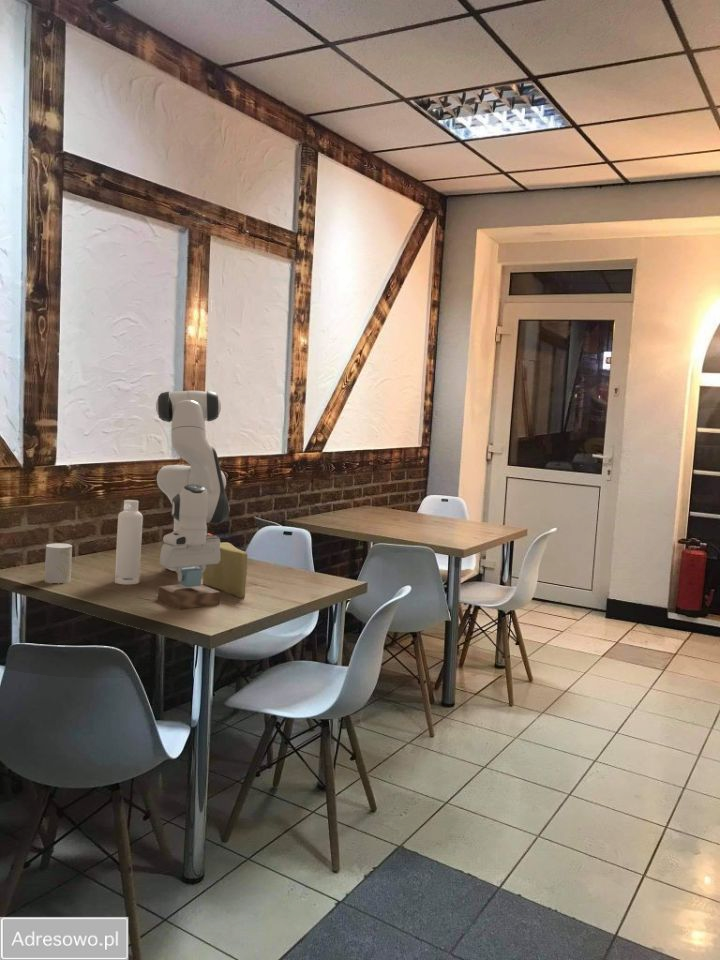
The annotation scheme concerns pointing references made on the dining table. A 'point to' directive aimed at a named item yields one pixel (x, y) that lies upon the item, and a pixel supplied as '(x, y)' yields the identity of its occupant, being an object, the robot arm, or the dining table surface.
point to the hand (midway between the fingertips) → (189, 579)
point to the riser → (188, 596)
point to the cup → (58, 563)
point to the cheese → (228, 571)
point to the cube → (191, 577)
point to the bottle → (128, 544)
